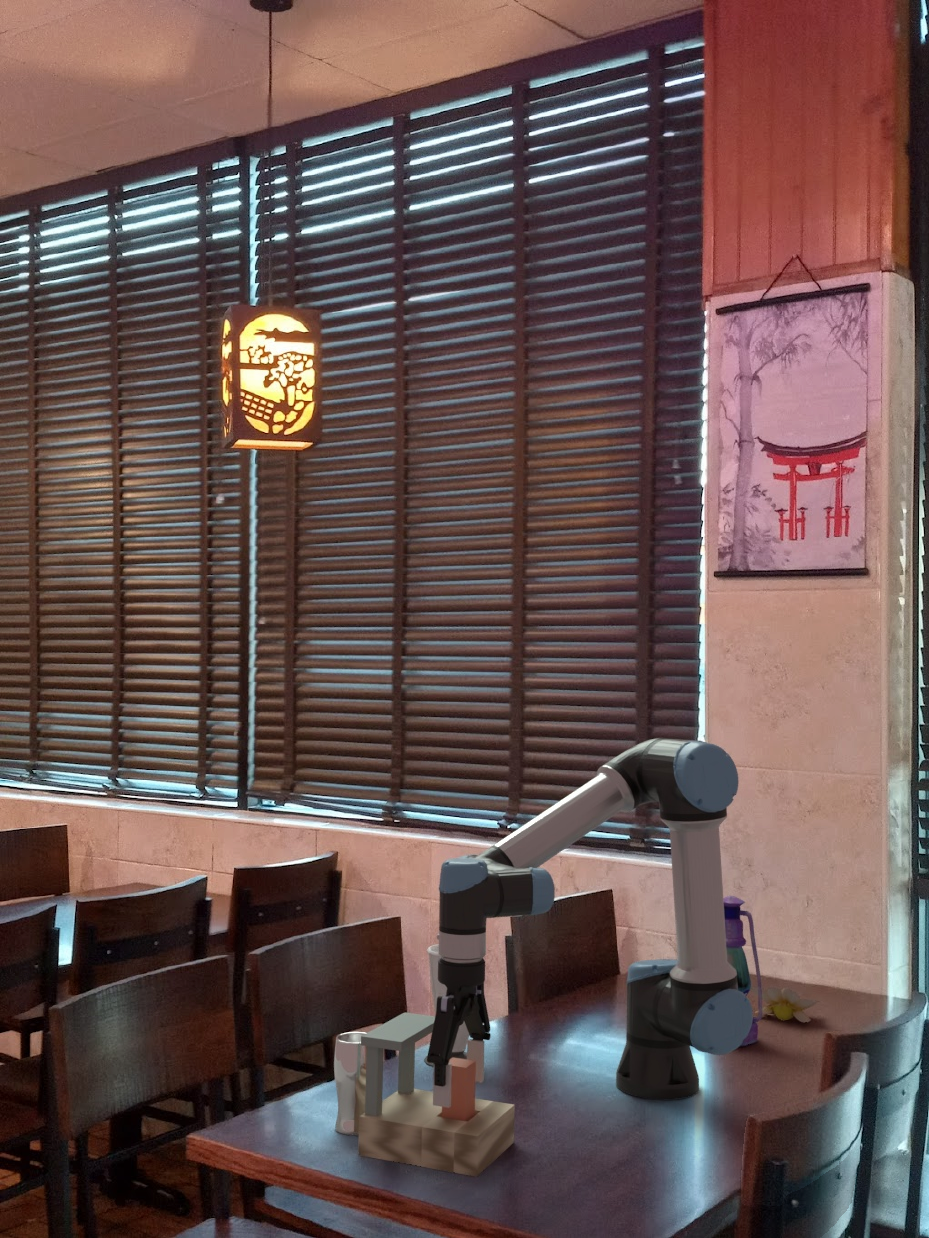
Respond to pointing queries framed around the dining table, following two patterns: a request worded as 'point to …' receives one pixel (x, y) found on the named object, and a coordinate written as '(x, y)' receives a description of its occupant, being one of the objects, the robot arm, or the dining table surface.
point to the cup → (441, 990)
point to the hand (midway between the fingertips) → (458, 1093)
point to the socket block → (436, 1134)
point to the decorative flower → (784, 1003)
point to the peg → (461, 1090)
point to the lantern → (741, 955)
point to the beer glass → (350, 1081)
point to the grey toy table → (394, 1037)
